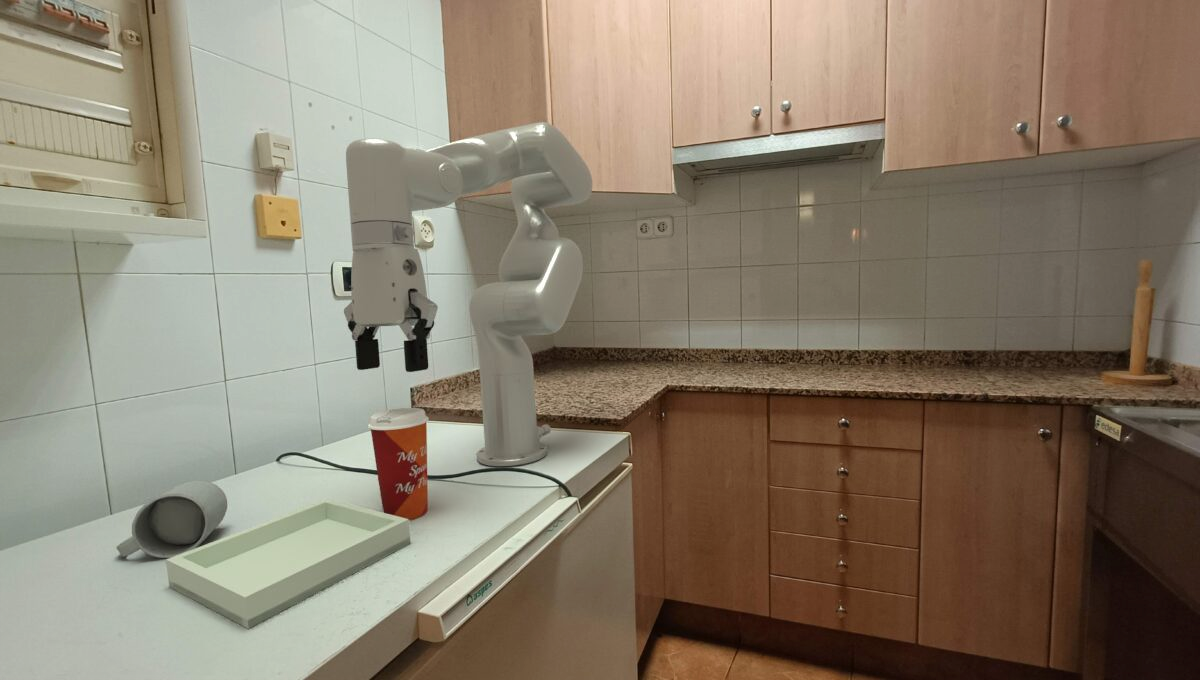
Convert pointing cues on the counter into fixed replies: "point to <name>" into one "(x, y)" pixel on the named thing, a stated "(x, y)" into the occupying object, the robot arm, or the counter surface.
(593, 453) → the counter surface
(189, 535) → the ceramic mug
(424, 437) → the paper cup
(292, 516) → the sage tray
